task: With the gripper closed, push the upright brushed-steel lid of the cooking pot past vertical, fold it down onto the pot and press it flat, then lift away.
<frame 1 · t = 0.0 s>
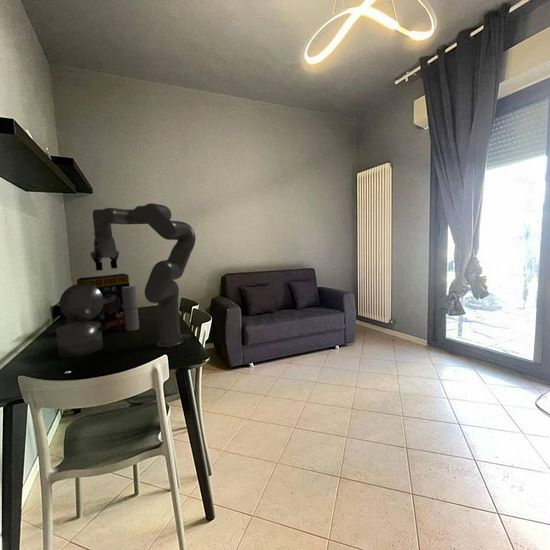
hand: (107, 269, 154), 37 cm above the table, tool pointing down, fingers open, 9 cm apart
cooker lid: (82, 302, 156), point 21 cm above the table, hinge at 100.0°
cooker pot: (81, 350, 146), on the table
cereal box: (109, 327, 187), on the table
cylindrical container: (132, 329, 181), on the table
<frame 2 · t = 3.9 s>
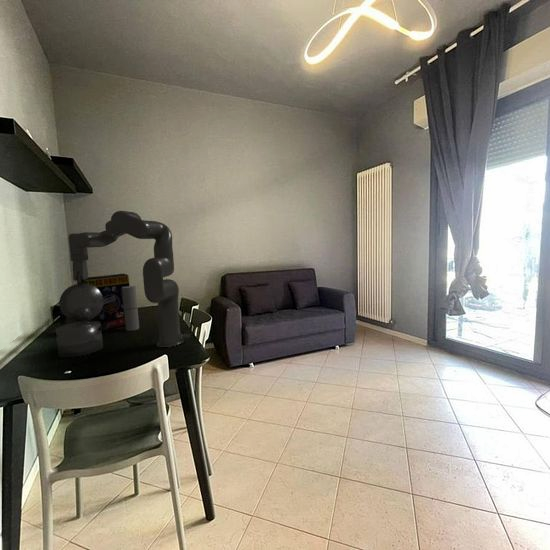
hand: (83, 293, 158), 25 cm above the table, tool pointing down, fingers closed
cooker lid: (82, 302, 155), point 21 cm above the table, hinge at 97.0°, touching gripper
everything else where it was.
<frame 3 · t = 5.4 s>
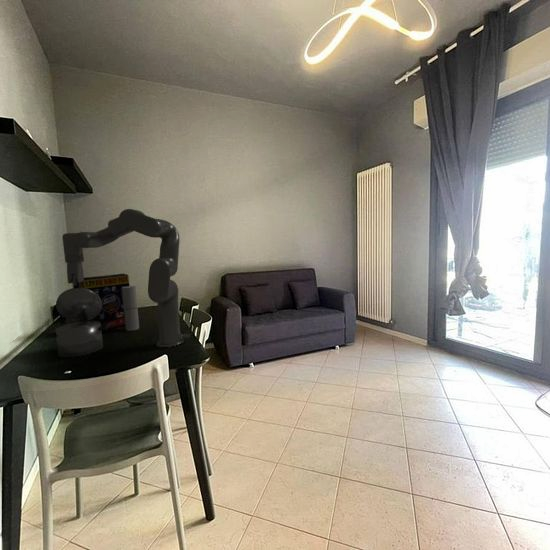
hand: (78, 296, 149), 25 cm above the table, tool pointing down, fingers closed
cooker lid: (80, 303, 150), point 21 cm above the table, hinge at 65.7°
everything else where it was.
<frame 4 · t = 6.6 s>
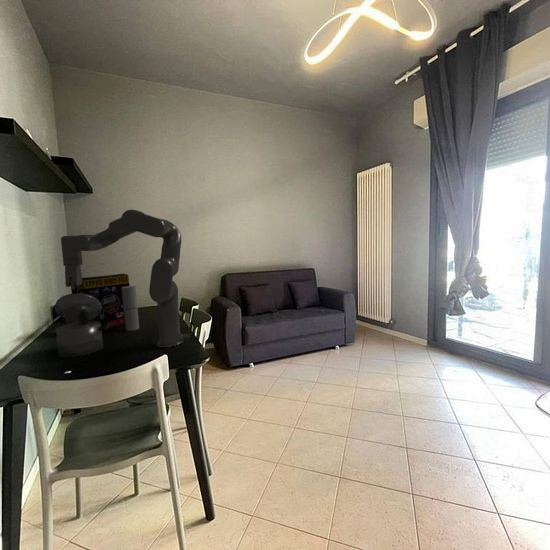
hand: (76, 300, 146), 24 cm above the table, tool pointing down, fingers closed
cooker lid: (79, 306, 148), point 20 cm above the table, hinge at 52.2°, touching gripper
everything else where it was.
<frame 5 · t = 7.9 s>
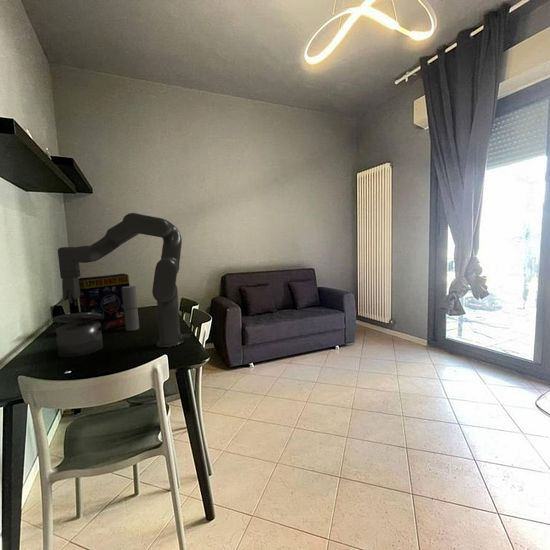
hand: (74, 314, 141), 18 cm above the table, tool pointing down, fingers closed
cooker lid: (78, 315, 145), point 17 cm above the table, hinge at 20.1°, touching gripper
everything else where it was.
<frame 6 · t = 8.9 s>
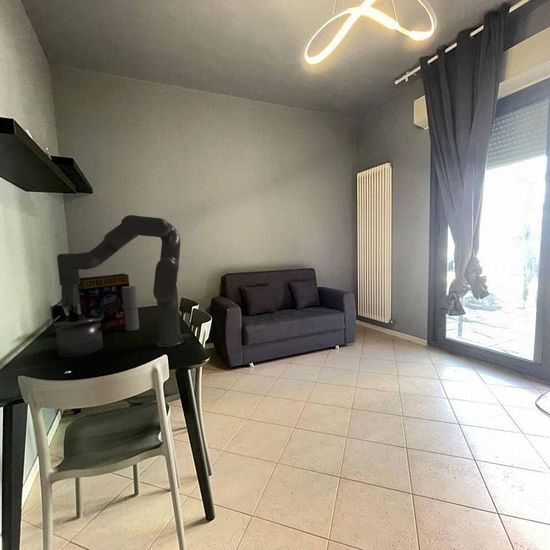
hand: (74, 321, 139), 16 cm above the table, tool pointing down, fingers closed
cooker lid: (78, 319, 145), point 15 cm above the table, hinge at 8.2°, touching gripper
everything else where it was.
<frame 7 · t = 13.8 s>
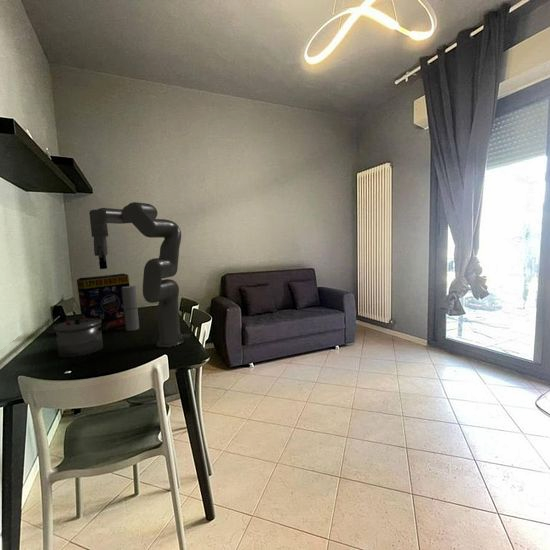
hand: (103, 268, 162), 37 cm above the table, tool pointing down, fingers closed
cooker lid: (78, 322, 145), point 14 cm above the table, hinge at 0.6°
everything else where it was.
at the end: cooker lid at +1° (first picture: +100°); the gripper is holding nothing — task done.
